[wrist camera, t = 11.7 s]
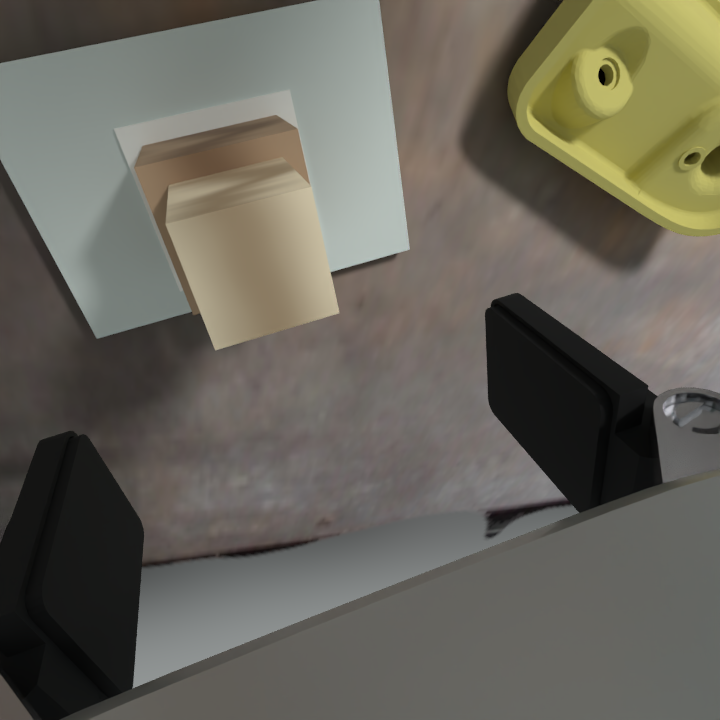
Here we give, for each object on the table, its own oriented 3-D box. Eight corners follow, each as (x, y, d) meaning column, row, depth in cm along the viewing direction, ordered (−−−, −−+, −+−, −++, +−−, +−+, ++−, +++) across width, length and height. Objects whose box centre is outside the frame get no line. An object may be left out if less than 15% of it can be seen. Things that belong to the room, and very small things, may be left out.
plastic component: (496, 120, 29) (657, -80, 22) (477, 63, 34) (604, -117, 27) (706, 256, 38) (871, 141, 31) (667, 196, 42) (802, 84, 35)
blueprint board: (371, -10, 26) (378, -13, 25) (404, 244, 34) (410, 250, 33) (-39, 71, 23) (-49, 72, 22) (99, 331, 31) (96, 340, 30)
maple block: (282, 157, 22) (311, 186, 17) (308, 262, 25) (339, 312, 20) (168, 185, 22) (165, 224, 17) (208, 290, 24) (215, 350, 19)
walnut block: (276, 114, 27) (297, 128, 22) (306, 240, 31) (330, 275, 26) (142, 145, 26) (133, 167, 21) (191, 271, 30) (193, 315, 25)
